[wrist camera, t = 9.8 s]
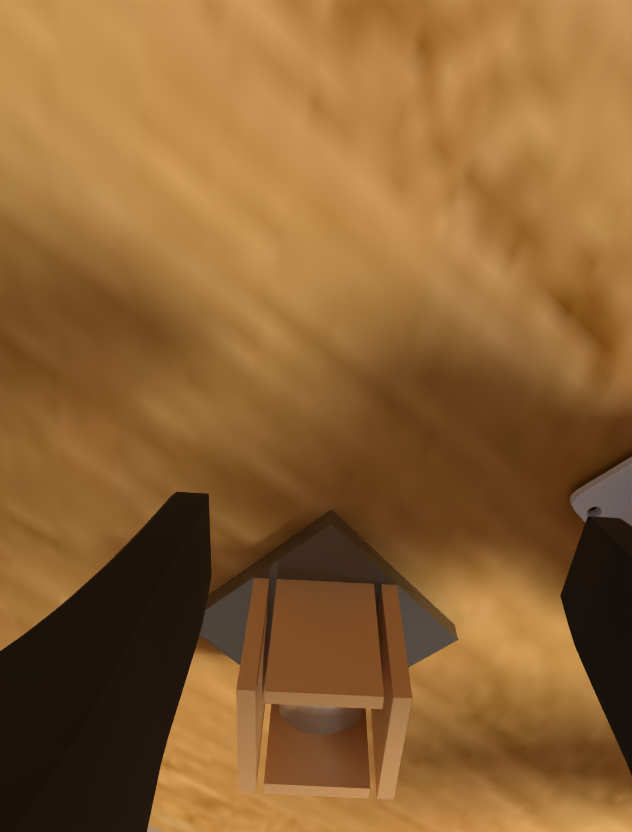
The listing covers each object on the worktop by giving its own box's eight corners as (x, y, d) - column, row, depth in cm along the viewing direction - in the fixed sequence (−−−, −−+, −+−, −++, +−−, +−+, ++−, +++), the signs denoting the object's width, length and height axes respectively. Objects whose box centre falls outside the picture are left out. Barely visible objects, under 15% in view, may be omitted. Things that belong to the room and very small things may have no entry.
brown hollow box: (382, 680, 26) (393, 799, 22) (254, 674, 26) (239, 792, 22) (396, 585, 23) (412, 698, 19) (253, 578, 23) (236, 689, 19)
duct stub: (454, 624, 26) (475, 717, 22) (314, 703, 28) (312, 798, 24) (331, 510, 23) (331, 593, 19) (189, 609, 25) (164, 699, 22)
